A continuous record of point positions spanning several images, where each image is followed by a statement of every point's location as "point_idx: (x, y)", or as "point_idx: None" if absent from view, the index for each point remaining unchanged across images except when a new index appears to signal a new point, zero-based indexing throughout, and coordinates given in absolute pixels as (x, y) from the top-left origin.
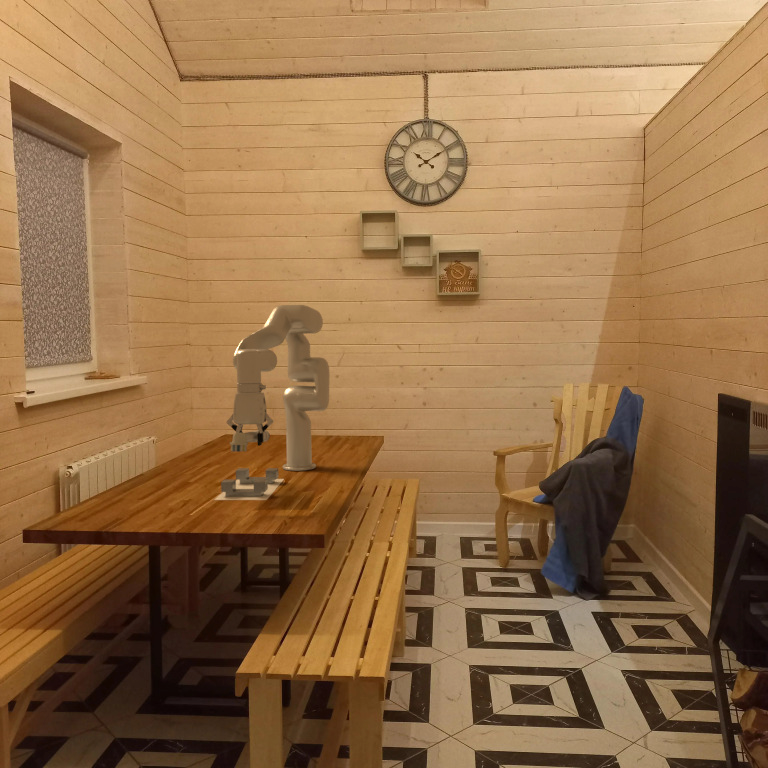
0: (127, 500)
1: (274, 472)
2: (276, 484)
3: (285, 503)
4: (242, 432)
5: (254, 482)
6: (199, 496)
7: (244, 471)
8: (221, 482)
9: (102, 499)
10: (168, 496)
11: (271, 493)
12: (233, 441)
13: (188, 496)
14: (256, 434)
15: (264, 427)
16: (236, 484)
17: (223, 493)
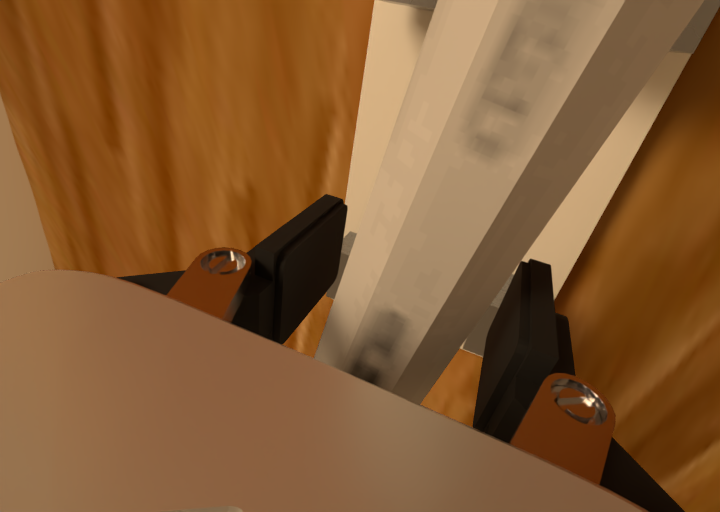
0: (89, 150)
1: (672, 50)
2: (655, 71)
3: (596, 367)
4: (275, 262)
5: (466, 349)
6: (268, 152)
7: (428, 7)
8: (327, 295)
9: (26, 117)
10: (170, 123)
11: (559, 285)
12: None
13: (232, 141)
14: (473, 320)
15: None
16: (398, 21)
17: (351, 217)
